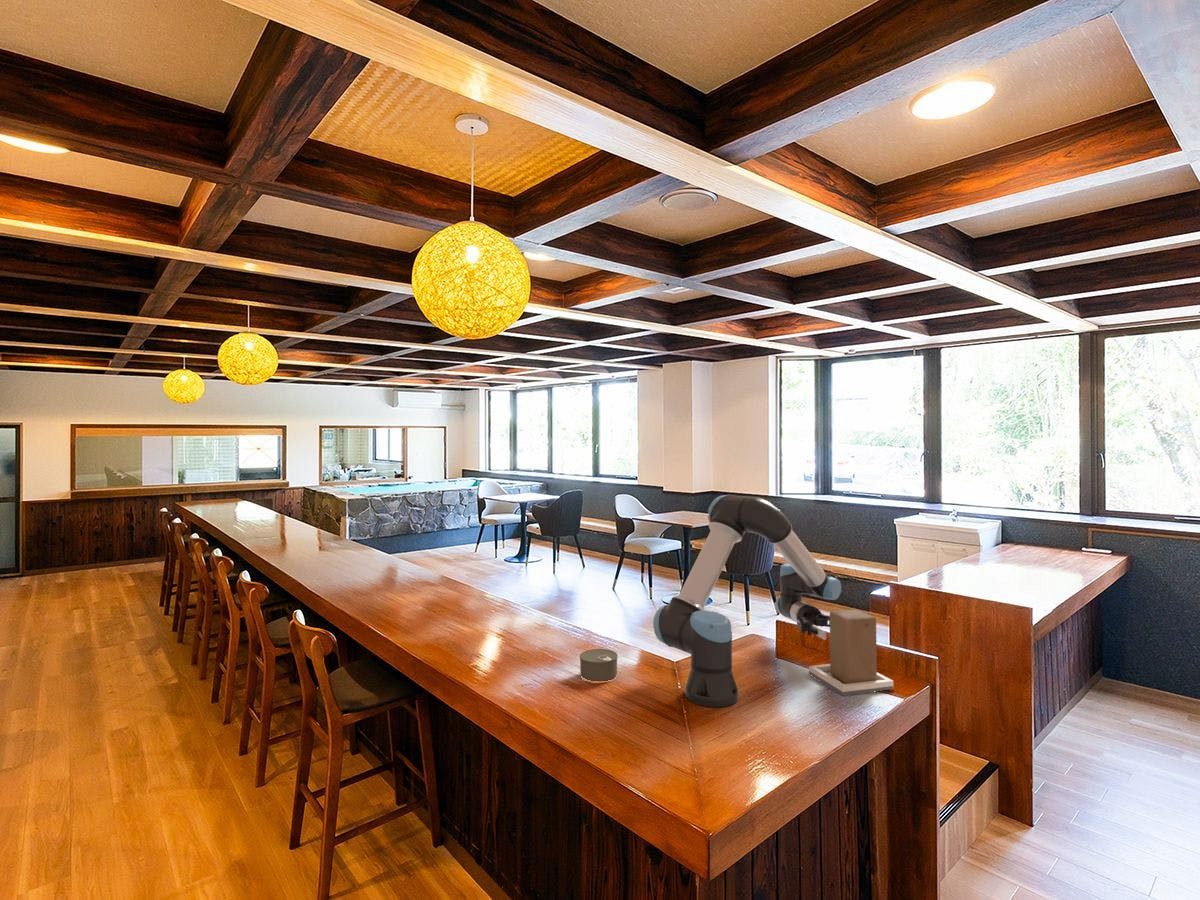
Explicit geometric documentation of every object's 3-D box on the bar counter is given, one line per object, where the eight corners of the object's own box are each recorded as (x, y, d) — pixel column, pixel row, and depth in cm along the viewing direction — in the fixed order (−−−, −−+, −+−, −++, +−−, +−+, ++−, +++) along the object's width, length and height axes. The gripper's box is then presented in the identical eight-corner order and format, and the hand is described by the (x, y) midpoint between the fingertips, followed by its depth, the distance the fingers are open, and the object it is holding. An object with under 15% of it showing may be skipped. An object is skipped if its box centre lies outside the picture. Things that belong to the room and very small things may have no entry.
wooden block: (878, 684, 176) (877, 617, 176) (847, 687, 175) (846, 619, 175) (858, 672, 186) (858, 608, 186) (829, 674, 184) (828, 610, 184)
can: (601, 667, 196) (600, 646, 196) (625, 677, 187) (625, 655, 187) (572, 676, 189) (572, 654, 189) (596, 687, 179) (596, 665, 179)
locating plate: (842, 696, 171) (842, 686, 171) (809, 674, 188) (809, 666, 188) (893, 690, 175) (893, 680, 175) (856, 669, 192) (855, 661, 192)
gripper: (838, 623, 208) (879, 642, 187) (773, 628, 202) (808, 649, 182) (838, 601, 208) (879, 618, 187) (773, 606, 202) (808, 624, 182)
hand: (844, 633), depth 184 cm, fingers open, 13 cm apart
